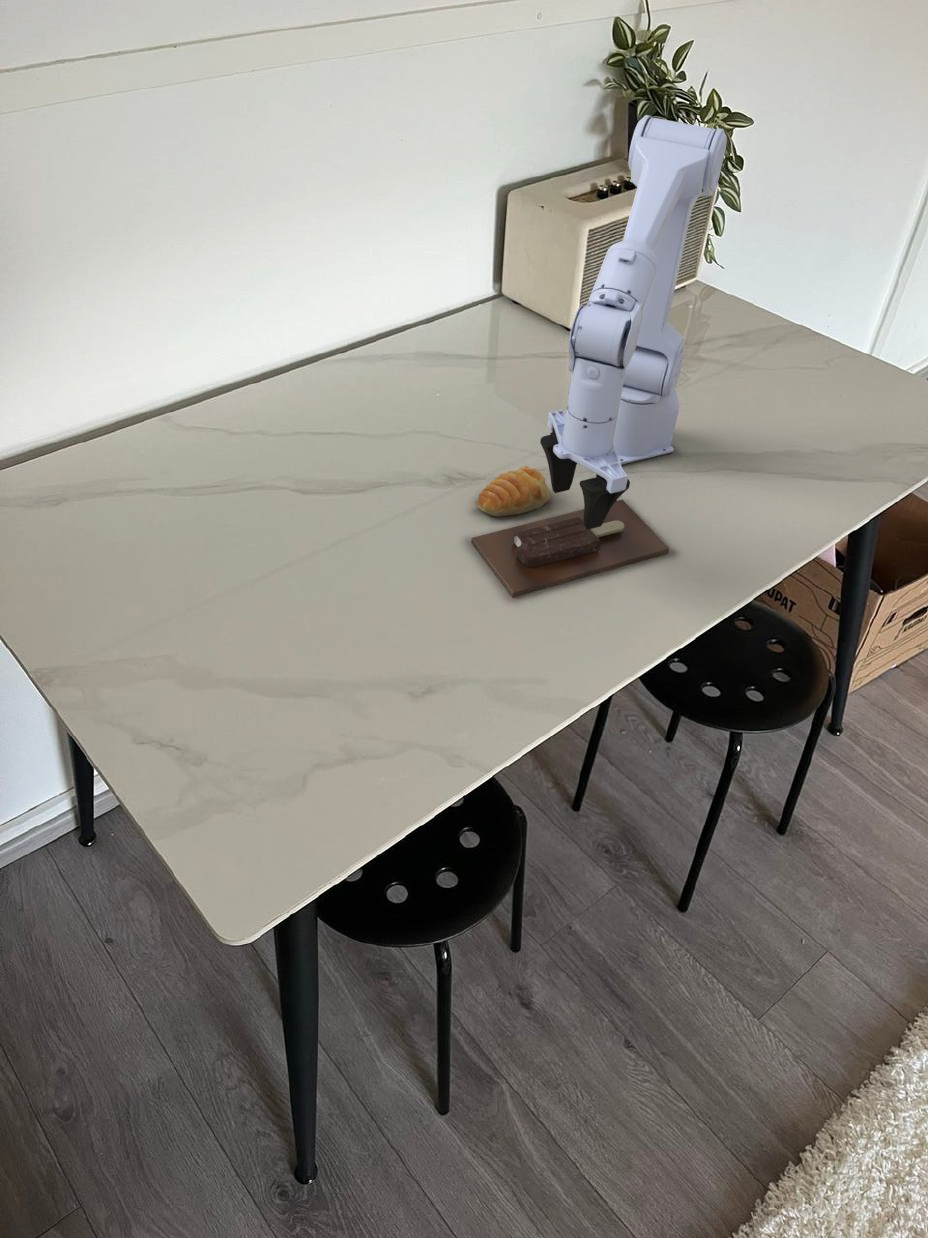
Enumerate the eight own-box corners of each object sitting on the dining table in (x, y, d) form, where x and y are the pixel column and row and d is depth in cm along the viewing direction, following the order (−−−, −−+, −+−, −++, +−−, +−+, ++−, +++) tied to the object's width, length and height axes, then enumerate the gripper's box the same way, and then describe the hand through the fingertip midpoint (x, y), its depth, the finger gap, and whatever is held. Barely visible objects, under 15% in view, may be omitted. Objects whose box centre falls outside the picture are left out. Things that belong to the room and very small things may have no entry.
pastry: (498, 528, 130) (500, 503, 127) (464, 502, 134) (466, 477, 131) (553, 503, 135) (556, 479, 132) (519, 479, 138) (522, 454, 136)
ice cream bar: (611, 517, 132) (506, 544, 126) (613, 507, 131) (507, 534, 125) (633, 541, 128) (526, 570, 123) (635, 531, 127) (528, 560, 122)
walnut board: (621, 503, 135) (622, 498, 135) (668, 553, 128) (669, 548, 128) (470, 542, 128) (471, 537, 127) (512, 597, 121) (512, 592, 120)
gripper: (529, 384, 118) (518, 481, 127) (595, 451, 109) (578, 551, 118) (582, 373, 120) (568, 469, 130) (651, 437, 111) (630, 537, 120)
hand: (576, 507), depth 124 cm, fingers open, 7 cm apart
